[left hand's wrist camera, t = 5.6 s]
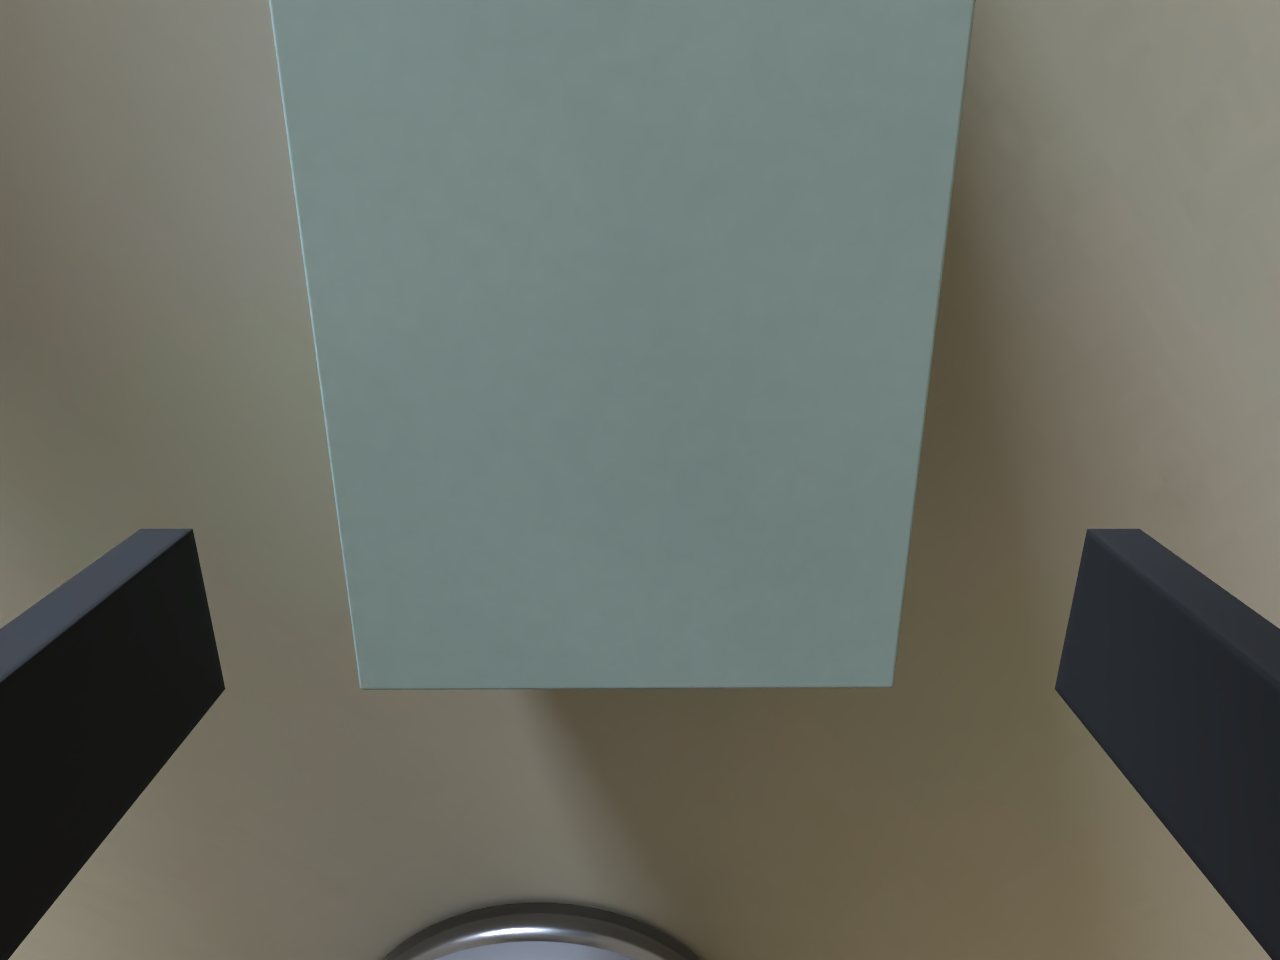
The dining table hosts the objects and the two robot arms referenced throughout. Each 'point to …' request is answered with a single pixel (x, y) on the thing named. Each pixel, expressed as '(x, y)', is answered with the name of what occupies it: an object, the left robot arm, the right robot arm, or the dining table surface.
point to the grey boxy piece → (624, 328)
